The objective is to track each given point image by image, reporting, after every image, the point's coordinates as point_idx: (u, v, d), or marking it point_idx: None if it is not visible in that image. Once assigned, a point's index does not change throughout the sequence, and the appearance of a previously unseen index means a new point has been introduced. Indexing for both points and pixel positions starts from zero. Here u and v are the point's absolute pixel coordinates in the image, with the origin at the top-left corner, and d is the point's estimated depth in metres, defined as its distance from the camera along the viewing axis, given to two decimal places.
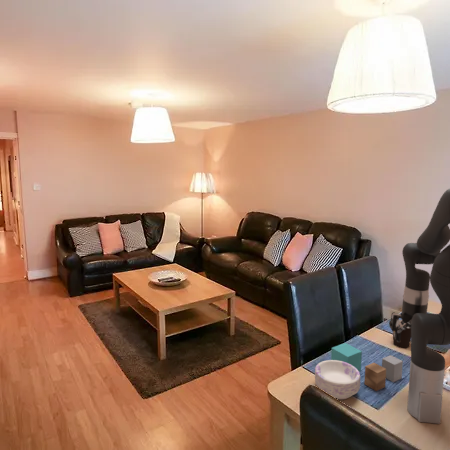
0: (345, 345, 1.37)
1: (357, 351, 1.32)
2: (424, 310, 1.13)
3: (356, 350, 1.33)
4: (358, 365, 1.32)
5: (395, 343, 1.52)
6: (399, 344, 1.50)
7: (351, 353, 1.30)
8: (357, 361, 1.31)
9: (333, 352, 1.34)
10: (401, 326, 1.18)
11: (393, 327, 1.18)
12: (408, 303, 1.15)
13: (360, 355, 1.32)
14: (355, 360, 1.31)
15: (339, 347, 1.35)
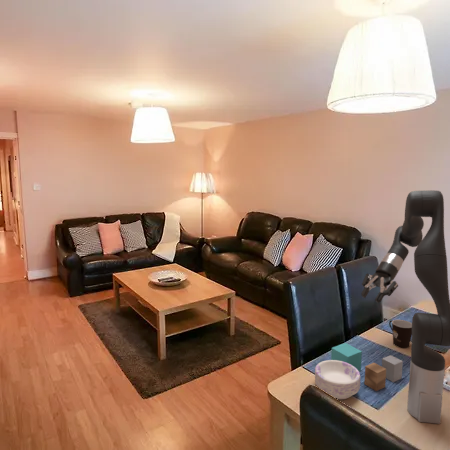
0: (345, 345, 1.37)
1: (357, 351, 1.32)
2: (388, 267, 1.37)
3: (356, 350, 1.33)
4: (358, 365, 1.32)
5: (395, 343, 1.52)
6: (399, 344, 1.50)
7: (351, 353, 1.30)
8: (357, 361, 1.31)
9: (333, 352, 1.34)
10: None
11: (364, 282, 1.42)
12: None
13: (360, 355, 1.32)
14: (356, 360, 1.31)
15: (339, 347, 1.35)
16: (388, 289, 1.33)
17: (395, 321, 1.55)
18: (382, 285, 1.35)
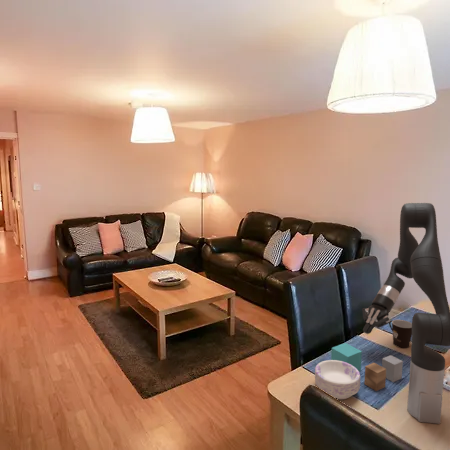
0: (345, 345, 1.37)
1: (357, 351, 1.32)
2: (384, 300, 1.39)
3: (356, 350, 1.33)
4: (358, 365, 1.32)
5: (395, 343, 1.52)
6: (399, 344, 1.50)
7: (351, 353, 1.30)
8: (357, 361, 1.31)
9: (333, 352, 1.34)
10: None
11: (365, 317, 1.42)
12: (377, 294, 1.44)
13: (360, 355, 1.32)
14: (356, 360, 1.31)
15: (339, 347, 1.35)
16: (378, 322, 1.37)
17: (395, 321, 1.55)
18: (374, 318, 1.38)
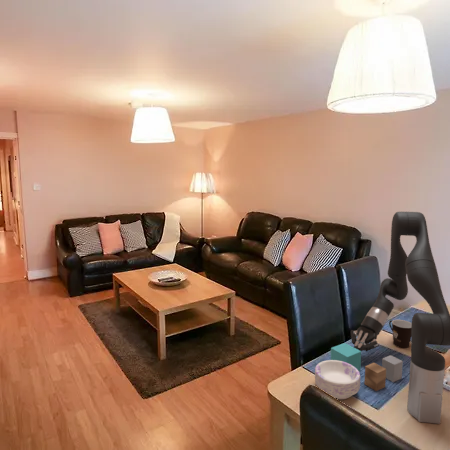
0: (344, 345, 1.37)
1: (356, 351, 1.32)
2: (372, 323, 1.37)
3: (355, 350, 1.33)
4: (358, 365, 1.32)
5: (395, 343, 1.52)
6: (399, 344, 1.50)
7: (350, 353, 1.30)
8: (357, 361, 1.31)
9: (332, 352, 1.34)
10: None
11: (354, 340, 1.39)
12: None
13: (359, 355, 1.32)
14: (355, 360, 1.31)
15: (339, 347, 1.35)
16: (366, 346, 1.34)
17: (395, 321, 1.55)
18: (362, 341, 1.36)
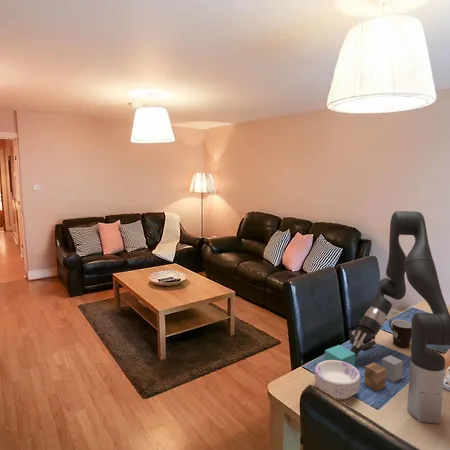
0: (338, 347, 1.35)
1: (351, 353, 1.30)
2: (371, 323, 1.37)
3: (350, 352, 1.31)
4: None
5: (395, 343, 1.52)
6: (399, 344, 1.50)
7: (344, 356, 1.29)
8: (351, 363, 1.30)
9: (326, 354, 1.33)
10: None
11: (352, 340, 1.39)
12: None
13: (354, 357, 1.30)
14: (349, 362, 1.29)
15: (333, 349, 1.34)
16: (364, 346, 1.34)
17: (395, 321, 1.55)
18: (361, 341, 1.36)
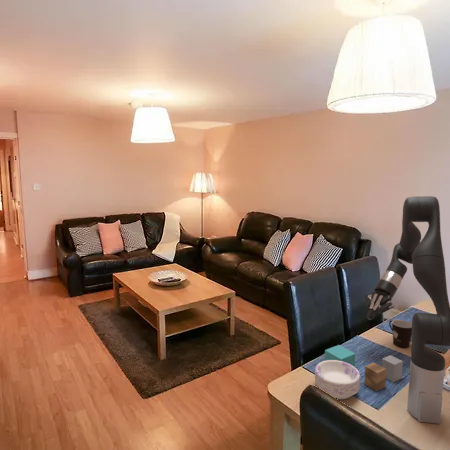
0: (338, 347, 1.35)
1: (351, 353, 1.30)
2: (386, 285, 1.38)
3: (350, 352, 1.31)
4: None
5: (395, 343, 1.52)
6: (399, 344, 1.50)
7: (344, 356, 1.29)
8: (351, 363, 1.30)
9: (326, 354, 1.33)
10: None
11: (368, 303, 1.41)
12: (379, 280, 1.43)
13: (354, 357, 1.30)
14: (349, 362, 1.29)
15: (333, 349, 1.34)
16: (381, 307, 1.36)
17: (395, 321, 1.55)
18: (377, 303, 1.38)
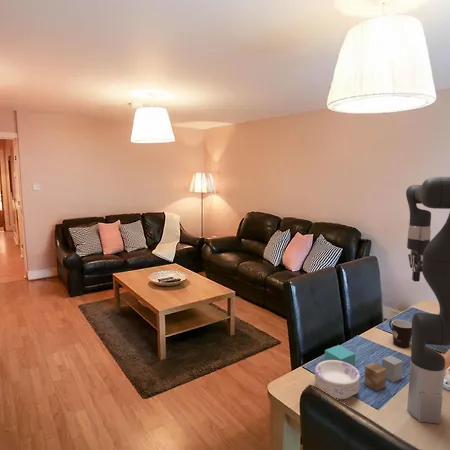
0: (338, 347, 1.35)
1: (351, 353, 1.30)
2: (411, 243, 1.29)
3: (350, 352, 1.31)
4: None
5: (395, 343, 1.52)
6: (399, 344, 1.50)
7: (344, 356, 1.29)
8: (351, 363, 1.30)
9: (326, 354, 1.33)
10: None
11: (410, 264, 1.34)
12: None
13: (354, 357, 1.30)
14: (349, 362, 1.29)
15: (333, 349, 1.34)
16: (416, 268, 1.28)
17: (395, 321, 1.55)
18: (413, 264, 1.30)
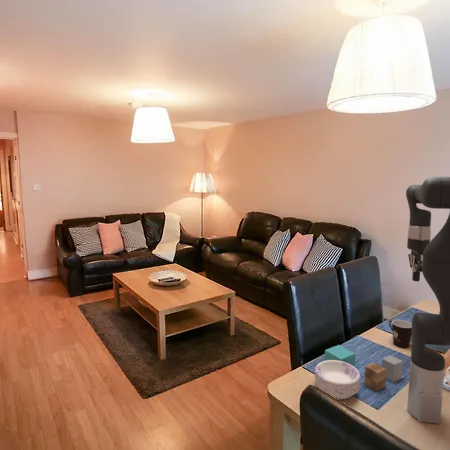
0: (338, 347, 1.35)
1: (351, 353, 1.30)
2: (411, 243, 1.29)
3: (350, 352, 1.31)
4: None
5: (395, 343, 1.52)
6: (399, 344, 1.50)
7: (344, 356, 1.29)
8: (351, 363, 1.30)
9: (326, 354, 1.33)
10: None
11: (410, 264, 1.34)
12: None
13: (354, 357, 1.30)
14: (349, 362, 1.29)
15: (333, 349, 1.34)
16: (416, 268, 1.28)
17: (395, 321, 1.55)
18: (413, 264, 1.30)
